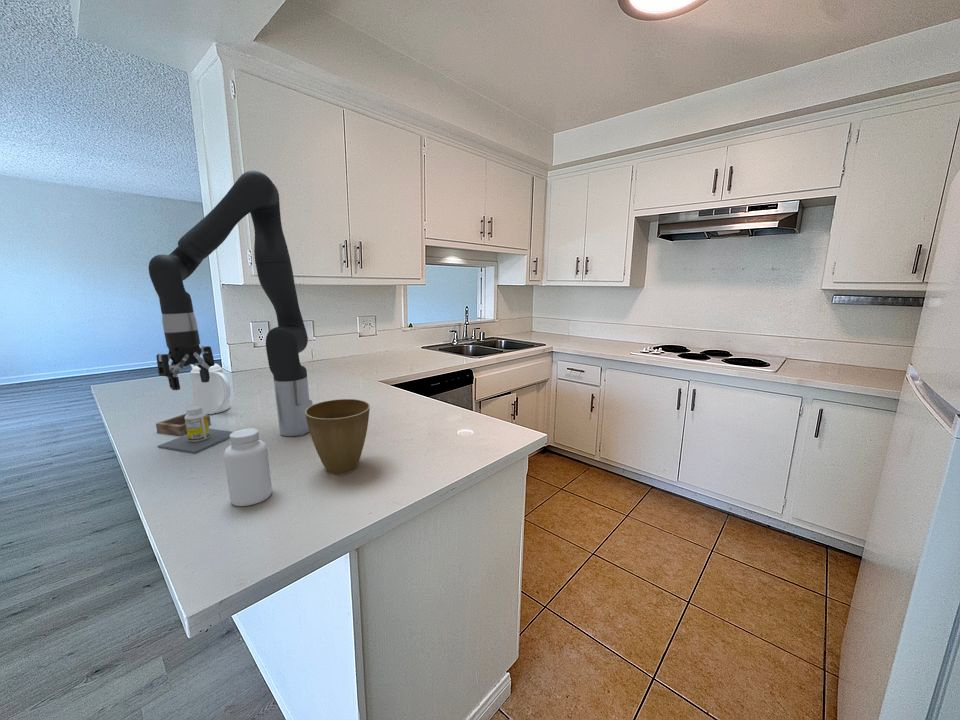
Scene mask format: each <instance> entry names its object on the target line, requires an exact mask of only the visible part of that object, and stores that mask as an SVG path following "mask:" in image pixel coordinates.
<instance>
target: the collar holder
mask: <svg viewBox="0 0 960 720" xmlns="http://www.w3.org/2000/svg"><path fill="white" fill-rule="evenodd" d="M186 415H187V412H186V413H184V414H180V415H178V416H175V417H172V418H168V419H166V420H163V421H159V422H156V423H155V426H156V427H155V428H156V432H157V433H158V434H164V435H169V436H170V435H171V436H178V437H182V436H184V435H187V429H186V424H185V418H184V417H185V416H186ZM207 421H208V427H209V426H210V425H212V423H211V416H210V415H207Z"/></svg>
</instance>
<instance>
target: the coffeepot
mask: <svg viewBox="0 0 960 720" xmlns="http://www.w3.org/2000/svg"><path fill="white" fill-rule="evenodd" d="M189 366H190V367H191V370H190V374H191V388H192V390H191V391H192V403H193V407H195V406H201V407H202V409H203V412H205V413H206V415H207V416H209V415H216V414H218V413H219V414H220V413H222V412H225V411H227V410H229V409H230V407H231V403H230V398H231V397H230V396H231V385H230V381H229V379H228V378H227V376H226V375H225V374H224V372H223V367H221V366H220V364H219V363H215V365H214V366H211V367H210V368H209V369H208V370H209V376H210V380H209V382H202V381H201V377H200V371H199V370H201V369H200V368H199V367H198V366H196V365H195V364H193V365H192V364H190V365H189ZM215 413H216V414H215ZM208 414H209V415H208Z"/></svg>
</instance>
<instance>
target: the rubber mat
mask: <svg viewBox="0 0 960 720" xmlns="http://www.w3.org/2000/svg"><path fill="white" fill-rule="evenodd" d="M233 432H234V431H230V430H223V429H215V428H209V433H210V437H209V438H208V439H206V440H203V441H199V442H190V441H189V440H188V435H187V434H185V435H182V436H178V437H177V438H174V439H172V440H169V441H166V442H164V443H161V444H159V445H157V448H158V447H159V448H158V449H163V448H165V449H164V450H169V449H170V450H169V451H174V452H175V451H176V452H182V453H187V454H188V453H190V454H195V455H196V454H198V453H201V452H202V451H205V450H207V449H209V448H211V446H212V447H214V446H216V445H218V443H219V444H221V443H222V442H225V441H229V440H230V437H229V436H230V434H231V433H233Z"/></svg>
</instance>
